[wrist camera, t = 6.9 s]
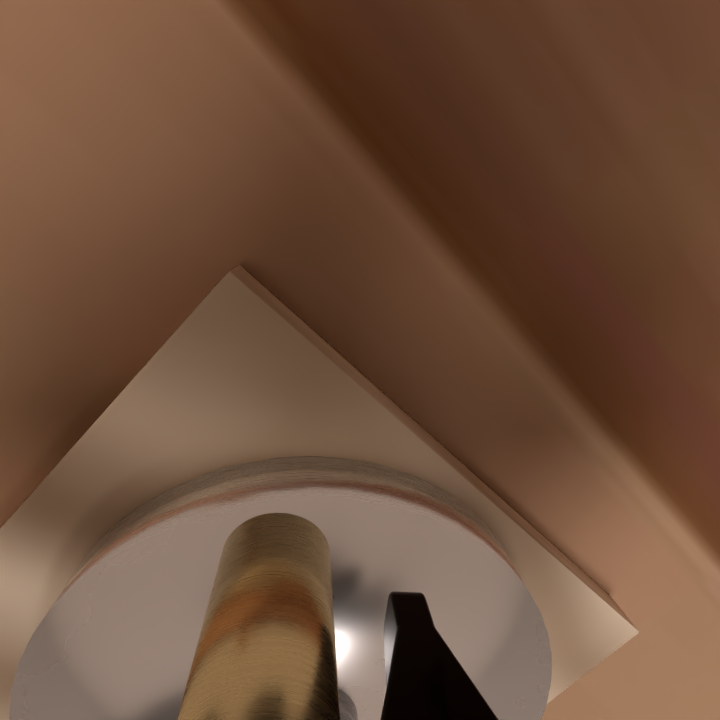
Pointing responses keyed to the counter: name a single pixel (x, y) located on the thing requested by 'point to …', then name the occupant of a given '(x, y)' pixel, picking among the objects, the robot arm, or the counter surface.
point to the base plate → (258, 442)
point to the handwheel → (280, 601)
